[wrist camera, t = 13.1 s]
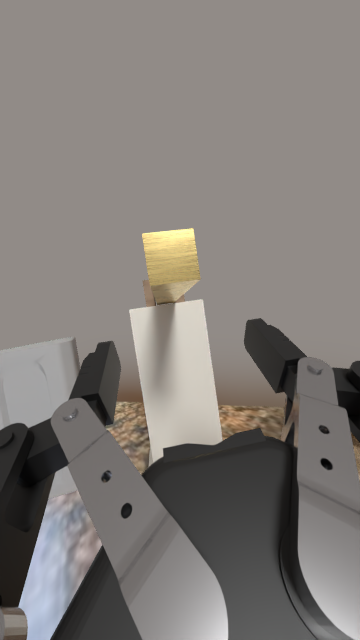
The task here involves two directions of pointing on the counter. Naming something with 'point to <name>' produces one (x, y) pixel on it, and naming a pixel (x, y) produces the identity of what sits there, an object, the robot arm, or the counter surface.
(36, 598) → the counter surface
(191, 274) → the gold block
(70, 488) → the triangular grey vase
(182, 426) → the mount
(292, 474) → the robot arm
